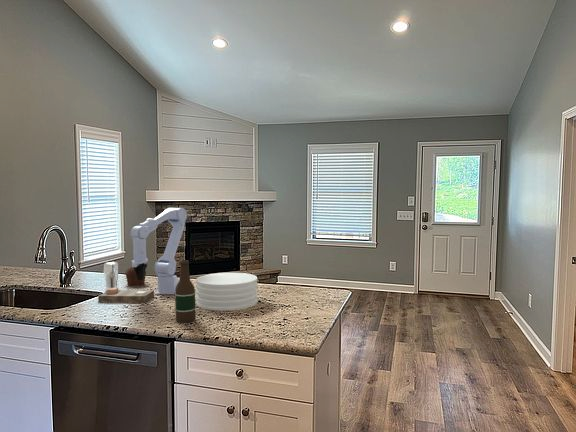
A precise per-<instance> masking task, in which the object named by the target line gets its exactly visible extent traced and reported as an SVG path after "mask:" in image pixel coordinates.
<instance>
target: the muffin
mask: <svg viewBox="0 0 576 432" xmlns="http://www.w3.org/2000/svg"><path fill="white" fill-rule="evenodd" d="M146 274H147V271H146V270H145V273H144V278H143V280H138V279H137V275H136V272H135V270H134V268H133V267H132V266H130V267H129V268H128V269H127V270H126V271H125V272H124V276H126V277H125V278H126V282H127V286H128V287H139V286H143V285H145V281H146Z"/></svg>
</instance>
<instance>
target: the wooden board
mask: <svg viewBox="0 0 576 432" xmlns="http://www.w3.org/2000/svg"><path fill="white" fill-rule="evenodd" d="M138 291H147V293H145V294H135V293H137V292H138ZM154 297H155V290H154V289H153V290H152V289H151V290H150V289H145V290H143V289H142V290H141V289H140V290H139V289H137V290H135V289H118V293H116V294H106V292H105V291H104V292H103V293H101V294H99V295H98V297H97V298H98V302H97V303H140V304H141V303H146V302H148V301H149V300H152V299H153V298H154Z"/></svg>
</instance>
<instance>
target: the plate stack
mask: <svg viewBox="0 0 576 432" xmlns="http://www.w3.org/2000/svg"><path fill="white" fill-rule="evenodd" d="M195 283H196V284H195V288H196V290H195V306H197V307H198V308H200V309H204V310H209V311H220V312H221V311H222V312H223V311H225V312H226V311H237V310H243V309H249V308H250V307H253V306H256V305H257V304H258V301H259V300H258V277H257V275H255V274H251V273H244V272H217V273H209V274H205V275H201V276H198V277H196V279H195Z"/></svg>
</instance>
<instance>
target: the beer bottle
mask: <svg viewBox="0 0 576 432" xmlns="http://www.w3.org/2000/svg"><path fill="white" fill-rule="evenodd" d="M189 264H190V261H189V260H188V259H187V260H186V259H184V260H183V259H182V260H180V261H179V265H180V268H179V270H180V271H179V280H178V284H177V286H176V288H175V294H174V299H175V300H174V302H175V307H174V308H175V311H174V312H175V313H174V315H175V321H176V322H177V323H178V324H187V323H192V322H194V321H195V320H196V290H195V288H196V287H195V286H194V283H193V282H192V281H191V278H190V277H191V276H190V266H189Z"/></svg>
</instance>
